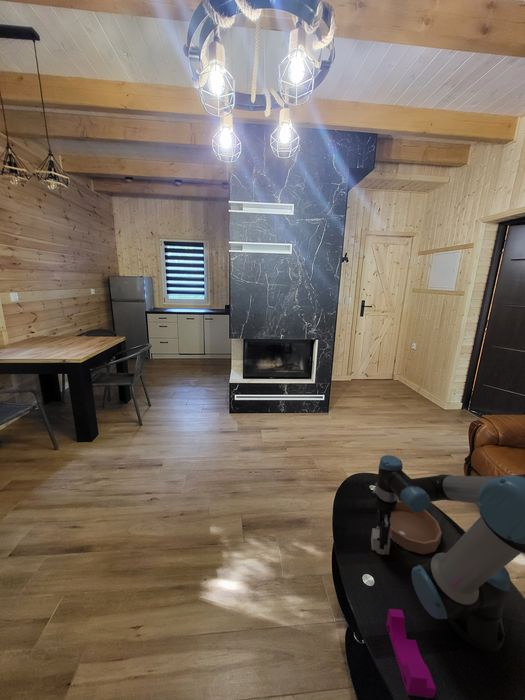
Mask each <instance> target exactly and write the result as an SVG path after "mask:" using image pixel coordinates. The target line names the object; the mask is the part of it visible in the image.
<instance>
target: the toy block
mask: <svg viewBox="0 0 525 700" xmlns="http://www.w3.org/2000/svg"><path fill="white" fill-rule="evenodd" d="M405 620H406V618H405V615H404V612H403V610H402V609H399V608H398V609H396V608H388V611H387V618H386V623H385V624H386V629H387V632H388V631H390V632H389V633H388V635H390V636H389V639H390V641H391V642H390V643H391V645H392V649H393V652H394V655H395V659H396V661H397V665H398V668H399V671H400V675H401V677H402V681H403V685H404V688H405V687H406V688H405V690H407V691H406V693H407V692H408V694H415V695H421V696H428V697H434V698H435V696H436V695H435V694H436V693H437V692H436V691H437V687H436V685H435V682H434V680H433V677H432V674H431V671H430V669H429V668H428V666H427V664H426V663H425V662H424V659H423V657H422V655H421V653H420V649H419V647H418V643H417V640H416V639H410V638H407V633H406V624H405V622H406V621H405ZM408 694H407V695H408Z"/></svg>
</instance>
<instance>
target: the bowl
mask: <svg viewBox="0 0 525 700" xmlns="http://www.w3.org/2000/svg"><path fill="white" fill-rule="evenodd" d="M389 523H390V524H391V526H390V529H389V537H390V538H391V539H392V540H393V541H392V540H391V539H390V540H391V541H392V542H394V543H395V542H396V543H395V544H397V545H398V544H399V546H400V547H402V548H403V549H404V550H406V551H409V552H413V553H415V554H418V555H426V554H431V553H435V552H437V548H438V546H439V545H440V543H441V538H442V534H443V532H442V530H441V527H440V525H439V522H438V520H437V519H436V518H435V517H434V516H433V515H432V514H430V513H429V512H428V511H427V509H426V510H423V512H420V513H416V512H413V511H412V510H410V509H409V508H408V507H407V506H406V505H405V504H404V503H403V502H402V501H401V500H399V501H397V506H396V509H395V510H394V511H392V512H391V518H390V522H389Z"/></svg>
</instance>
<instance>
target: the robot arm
mask: <svg viewBox="0 0 525 700" xmlns="http://www.w3.org/2000/svg"><path fill="white" fill-rule="evenodd" d="M376 482H377V486H376V485H375V487H376V488H375V489H376V494H375V497H374V503H375V505H376V506H377V508H378V509H377V514H376V515H377V516H376V525H377V526H376V529H379V530H380V533H379V538H377V540H378V544H377V551H376V554H379V555H382V556H384V555H385V554H384V553H385V546H386V545H387V544H388V536H389V529H390V526H391V524H390V523H389V522H390V518H391V512H392V511H394V510H395V509H396V506H397V498H398V497H399V501H402V502H403V503H404V504H405V505H406V506H407V507H408V508H409V509H410V510H412V511H413V512H416V513H420V512H423V510H426V511H427V509H428V508H429V506H430V505H431V503H432V502H433V503H434V502H438V501H439V502H441V501H448V502H449V501H451V502H460V503H466V504H467V503H468V504H475V505H478V511H479V515H480V516H479V517H478V518H477V520H476V521H475V522H474V523H473V524H472V525H471V526H470V527H469V528H468V530H466V532H464V533H463V534H462V536H461V537H460V538H459V539H458V540H457V541H456V542H455V544H453V546H451V548H450V549H449V550H448V551H447V552H438V553H436V554H434V555H433V556H432V557H431V559H429V561H428V562H427V563H425V564H417V566H414V567H413V568H412V570H411V582H412V585H413V587H414V591H415V594H416V595H417V598H418V599H419V601H420V603H421V605H422V606H423V608H424V609H425V611H426V612H427V613H428V614H429V615H430V616H431V617H433V618H434V619H436V620H446V621H447V623H448V624H449V625H450V627H451V628H452V629H453V630H454V632H455V633H456V634H457V635H458V636H459V637H460V638H461V639H462V640H463V641H465V642H466V643H467V644H468V645H470V646H472V647H474V648H476V649H478V650H481V651H484V652H490V653H492V652H493V653H494V652H497V651H499V650H500V649H501V648H502V647H503V644H504V641H505V629H504V625H503V620H502V616H503V611H504V608H505V605H506V602H507V601H506V600H507V598H508V594H509V591H510V590H511V587H510V584H511V576H510V573H509V572H508V570H507V568H506V567H507V565H508V564H509V563H511V562H512V561H514V559H515V558H517V557H518V556H519V555H520V554H524V555H525V473H524V474H522V473H521V474H516V475H512V474H507V475H500V476H483V475H480V476H479V475H478V476H477V475H475V476H474V475H453V474H449V473H448V474H446V473H443V474H438V475H432V476H423V477H416V478H411V477H410V476H409V475H407V474H406V473H405V472H404V471H403V462H402V461H401V459H400V458H398V457H396V456H394V455H389V454H388V455H383V456H381V457H380V461H379V465H378V473H377V481H376Z"/></svg>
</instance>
